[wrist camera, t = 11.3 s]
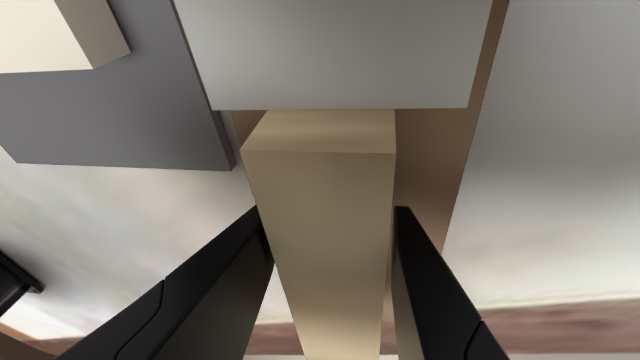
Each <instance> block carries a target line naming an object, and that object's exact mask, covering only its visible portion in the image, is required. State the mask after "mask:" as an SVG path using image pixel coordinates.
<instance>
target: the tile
mask: <svg viewBox="0 0 640 360" xmlns="http://www.w3.org/2000/svg"><path fill="white" fill-rule="evenodd" d="M130 53H131V52H130V49H129V47H128V45H127V43H126V41H125V39H124V37H123V35H122V33H121V31H120V29H119V27H118V24H117V22H116V20H115V18H114V16H113V14H112V12H111V10H110V8H109V6H108V4H107V2H106V0H0V73H18V72H40V71H62V70H84V69H95V68H97V67H99V66H102V65H104V64H106V63H109V62H111V61H113V60H116V59H118V58H120V57H123V56H125V55H127V54H130Z"/></svg>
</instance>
